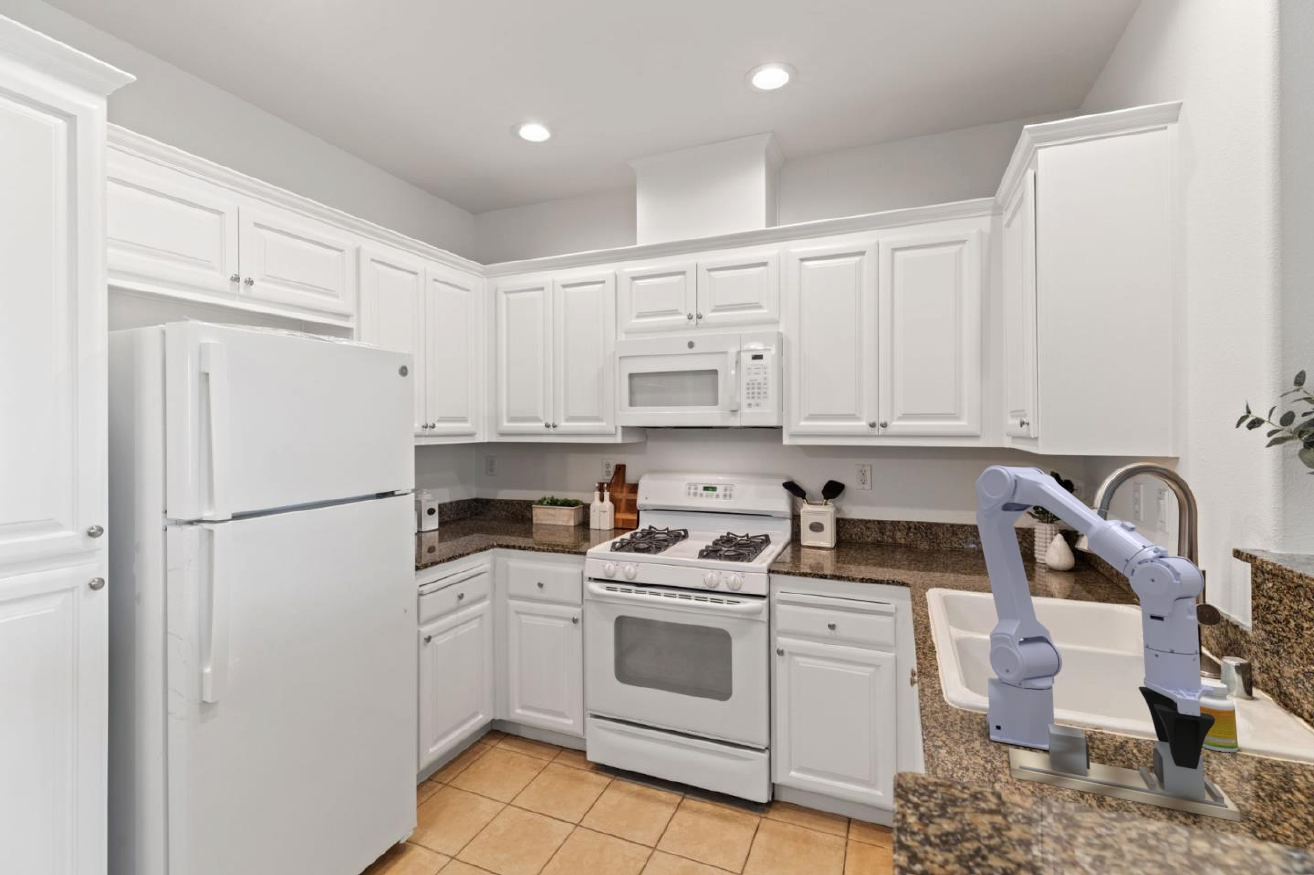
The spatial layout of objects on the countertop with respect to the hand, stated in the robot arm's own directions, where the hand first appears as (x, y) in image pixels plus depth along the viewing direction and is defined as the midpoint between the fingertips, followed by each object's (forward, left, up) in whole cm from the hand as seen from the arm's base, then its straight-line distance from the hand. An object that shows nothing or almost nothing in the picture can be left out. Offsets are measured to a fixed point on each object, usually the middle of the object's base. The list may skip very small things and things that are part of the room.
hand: (1177, 755), depth 80 cm
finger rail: (-7, 0, -5) cm, 9 cm away
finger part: (0, 0, -4) cm, 4 cm away
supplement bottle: (+10, +25, -6) cm, 27 cm away
